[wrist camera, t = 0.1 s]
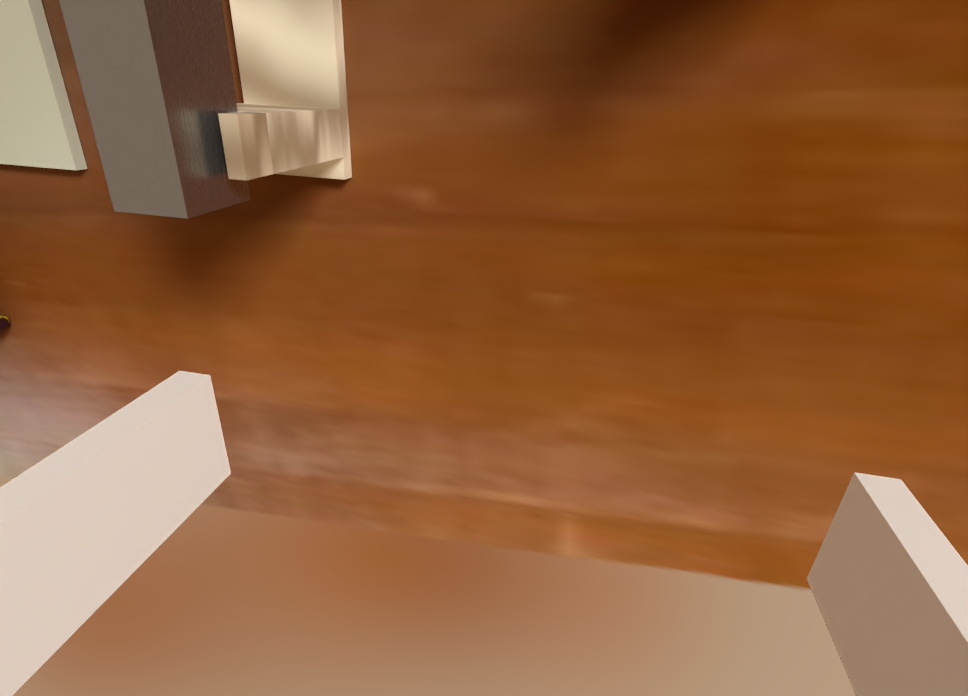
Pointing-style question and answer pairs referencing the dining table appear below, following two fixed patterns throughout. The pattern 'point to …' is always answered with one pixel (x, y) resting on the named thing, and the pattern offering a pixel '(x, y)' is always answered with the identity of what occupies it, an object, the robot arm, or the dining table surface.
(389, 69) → the dining table surface
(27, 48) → the mat
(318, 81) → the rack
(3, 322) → the decorative lantern
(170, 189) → the rail
